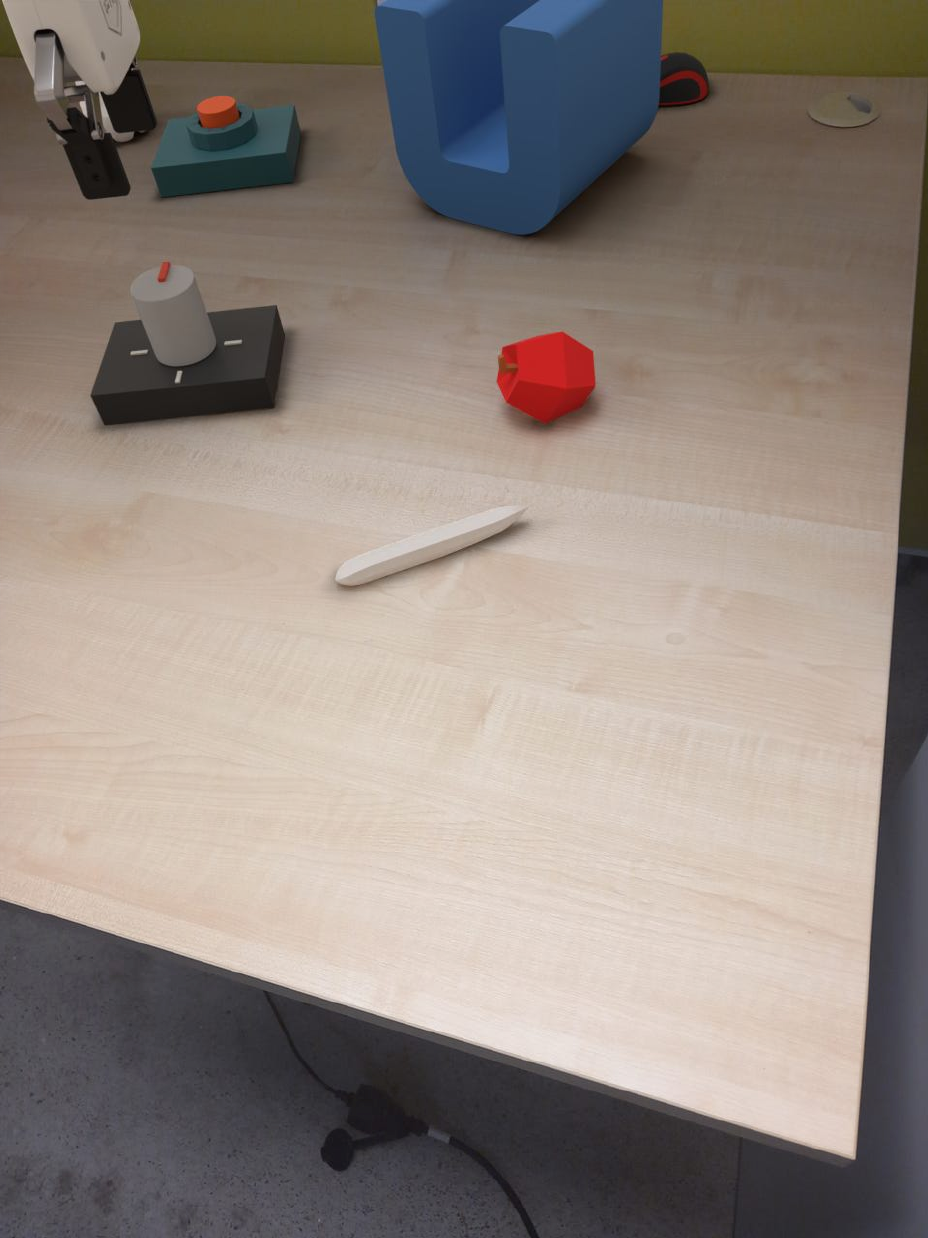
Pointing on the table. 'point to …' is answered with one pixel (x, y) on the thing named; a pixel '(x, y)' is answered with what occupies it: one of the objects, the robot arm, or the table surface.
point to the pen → (427, 545)
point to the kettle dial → (173, 314)
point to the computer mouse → (682, 80)
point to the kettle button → (218, 112)
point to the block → (516, 99)
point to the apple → (546, 375)
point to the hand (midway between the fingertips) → (123, 161)
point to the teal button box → (228, 152)
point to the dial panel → (192, 371)
